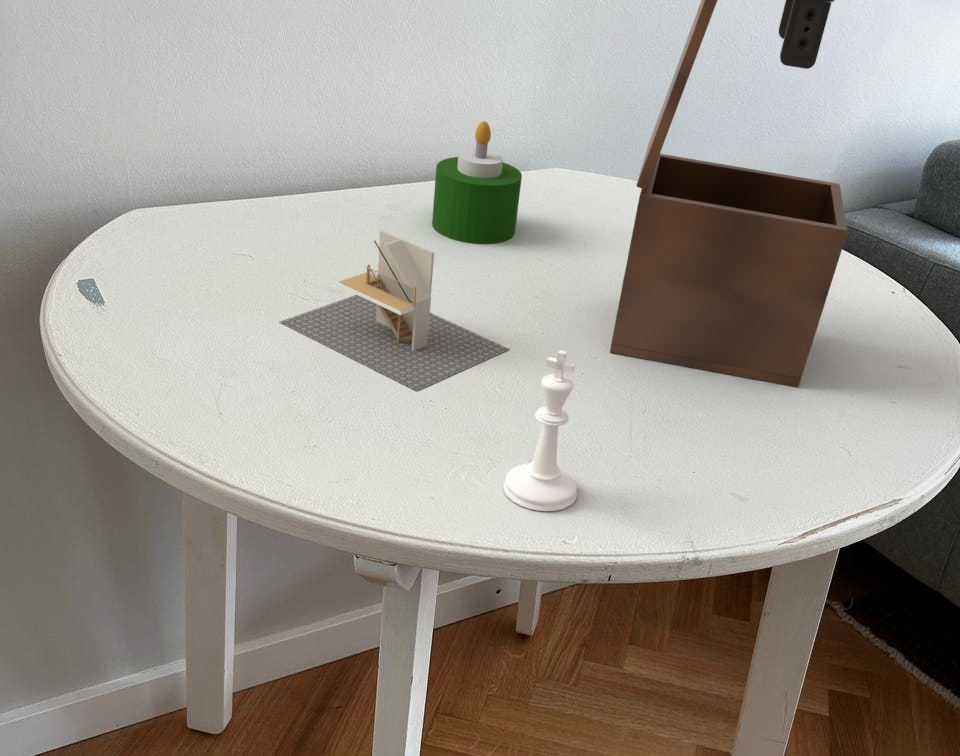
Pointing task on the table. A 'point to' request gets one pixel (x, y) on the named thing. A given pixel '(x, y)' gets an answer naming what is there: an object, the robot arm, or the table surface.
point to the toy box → (729, 269)
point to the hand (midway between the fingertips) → (794, 52)
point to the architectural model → (396, 321)
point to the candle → (476, 194)
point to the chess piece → (546, 450)
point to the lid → (676, 90)
